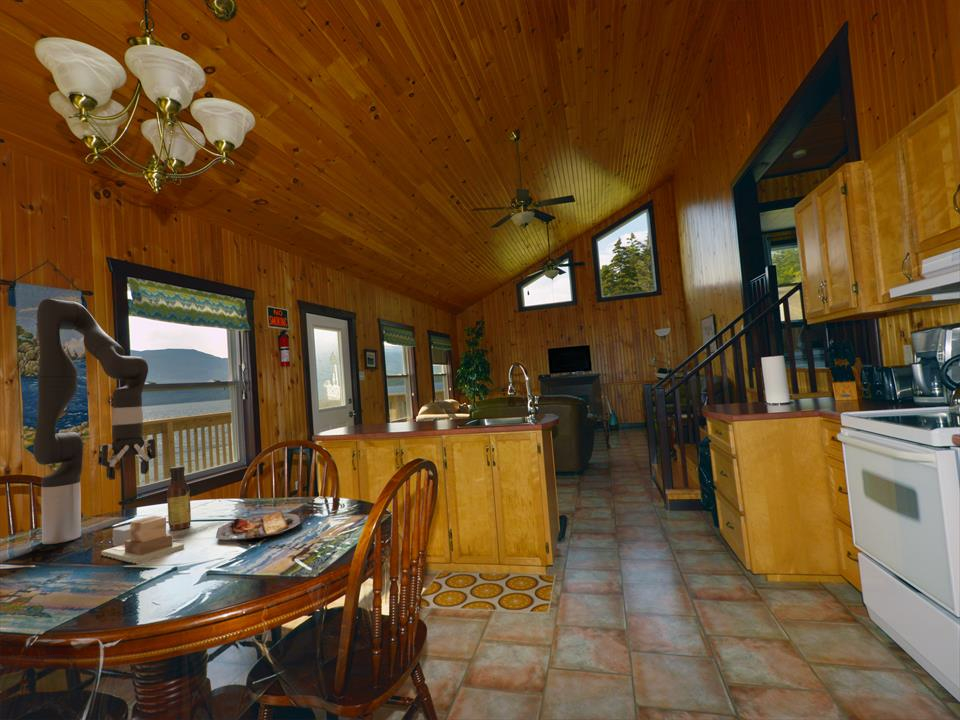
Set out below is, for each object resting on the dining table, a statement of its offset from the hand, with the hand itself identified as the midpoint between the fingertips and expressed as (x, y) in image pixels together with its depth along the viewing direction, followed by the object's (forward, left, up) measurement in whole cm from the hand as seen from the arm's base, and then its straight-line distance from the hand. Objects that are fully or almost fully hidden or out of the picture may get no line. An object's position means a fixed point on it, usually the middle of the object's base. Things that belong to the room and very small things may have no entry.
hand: (128, 476), depth 142 cm
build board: (+13, -3, -20) cm, 24 cm away
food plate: (+29, +22, -20) cm, 42 cm away
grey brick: (0, 0, -20) cm, 20 cm away
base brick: (+16, -3, -19) cm, 25 cm away
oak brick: (+16, -3, -16) cm, 22 cm away
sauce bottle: (-1, +15, -20) cm, 25 cm away
